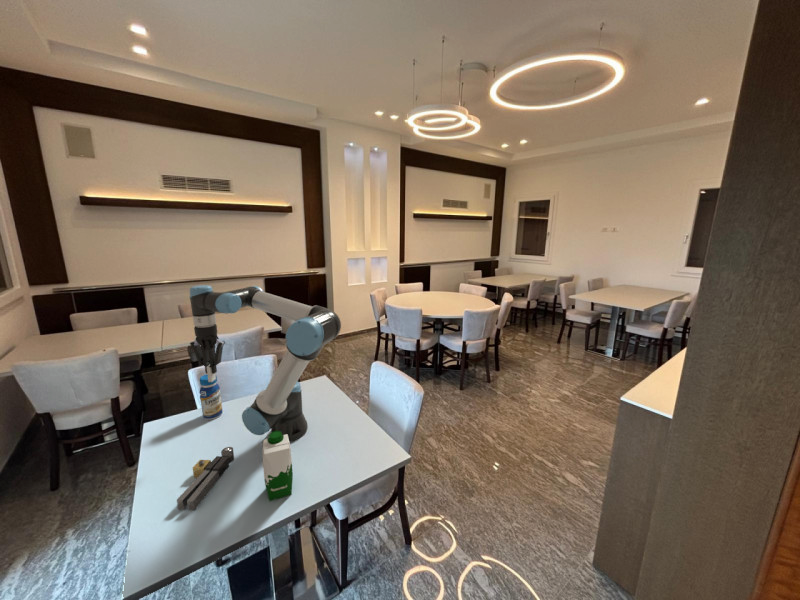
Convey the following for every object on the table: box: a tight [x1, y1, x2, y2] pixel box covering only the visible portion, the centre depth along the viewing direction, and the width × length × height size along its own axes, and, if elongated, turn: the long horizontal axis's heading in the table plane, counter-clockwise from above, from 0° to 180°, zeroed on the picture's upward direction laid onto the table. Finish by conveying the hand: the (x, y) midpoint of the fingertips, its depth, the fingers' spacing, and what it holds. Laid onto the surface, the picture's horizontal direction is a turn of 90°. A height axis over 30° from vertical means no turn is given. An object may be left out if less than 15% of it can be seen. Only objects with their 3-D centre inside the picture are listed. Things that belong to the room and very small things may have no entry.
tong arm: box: [176, 455, 222, 511], centre depth 107 cm, size 19×2×4 cm, turn 175°
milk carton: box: [261, 431, 294, 502], centre depth 104 cm, size 9×9×20 cm
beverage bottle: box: [199, 373, 224, 421], centre depth 146 cm, size 8×8×20 cm
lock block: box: [192, 459, 212, 479], centre depth 112 cm, size 4×4×5 cm
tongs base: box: [187, 446, 235, 511], centre depth 109 cm, size 24×4×5 cm, turn 178°
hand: (212, 380), depth 127 cm, fingers closed
